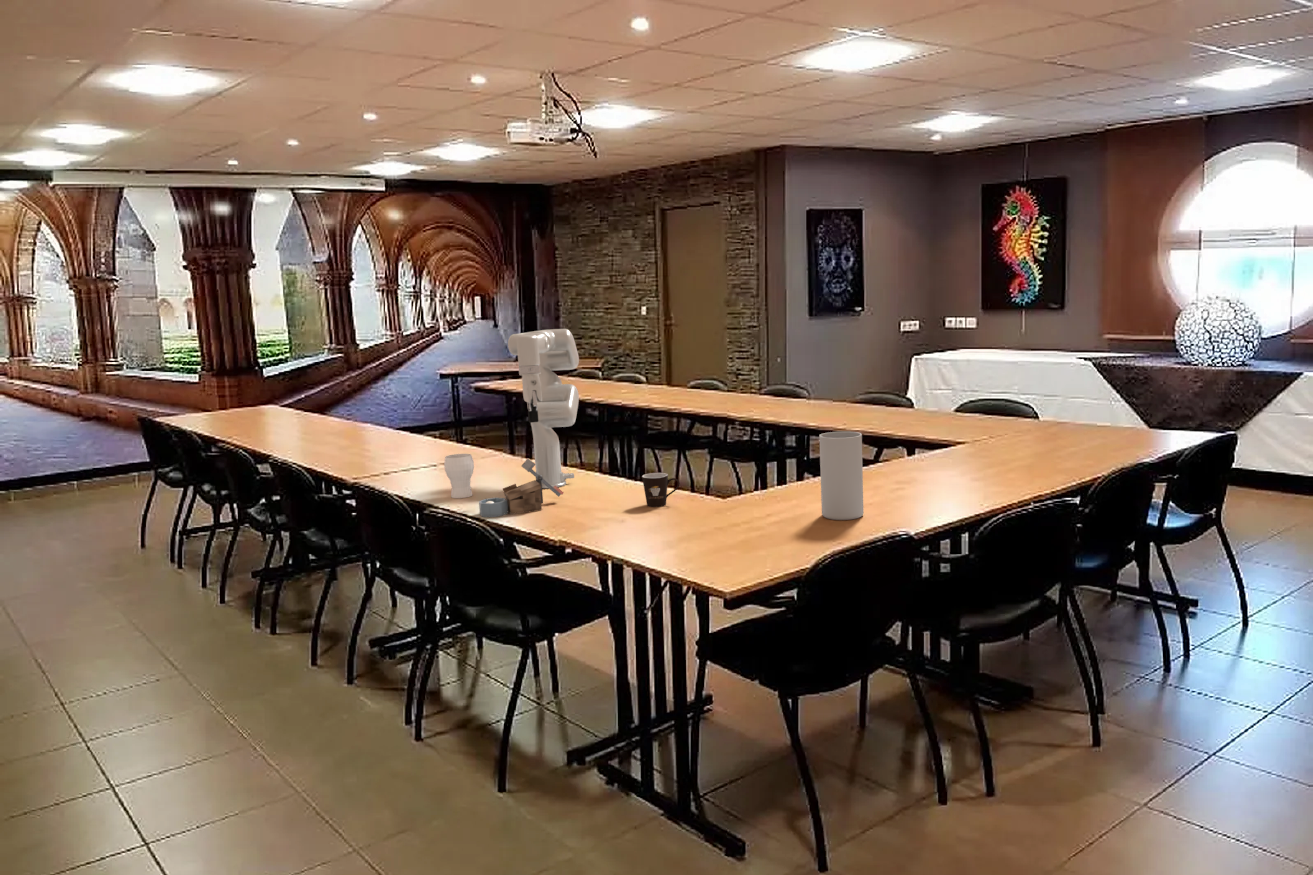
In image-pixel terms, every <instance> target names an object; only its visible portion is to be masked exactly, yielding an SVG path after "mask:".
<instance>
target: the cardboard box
mask: <svg viewBox="0 0 1313 875" xmlns="http://www.w3.org/2000/svg"><path fill="white" fill-rule="evenodd" d="M502 491H503V493H504V496H505V499H506V500H507V505H508V514H510V515H515V514H522V513H530V512H529V511H531V512H535V511H534V510H538V511H541V510H540V509H542V510H543V508H542V504H544V498H543V497H544V494H543V488H542V482H541V481H538V480H537V479H536V478H535V479H534V480H532V481H529V482H526V483H524V484H521V485H518V486H517V484H516V483H514V484H510V485H508V486H506V487H504V488H502ZM514 513H515V514H514Z"/></svg>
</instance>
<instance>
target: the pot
mask: <svg viewBox="0 0 1313 875" xmlns="http://www.w3.org/2000/svg"><path fill="white" fill-rule="evenodd" d="M488 501H493V502H494V503H486V502H488ZM478 509H479V515H480V516H481V517H482V518H493V517H494V518H495V517H502V516H504V515H507V514H509V512H508V505H507V500H506V497H490V498H485V499H482V500H479V501H478Z"/></svg>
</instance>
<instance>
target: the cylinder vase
mask: <svg viewBox="0 0 1313 875" xmlns="http://www.w3.org/2000/svg"><path fill="white" fill-rule="evenodd" d="M818 438H819V465H820V490H821V491H820V494H821V495H820V496H821V497H820V498H821V499H820V501H821V516H823V517H824V518H825V519H829V520H833V521H849V520H850V521H851V520H856V519H860V518H861V517H863V516H864V480H863V478H864V476H863V435H862V433H861V432H856V431H832V432H831V431H830V432H829V431H828V432H825V433H821V434H819V437H818Z"/></svg>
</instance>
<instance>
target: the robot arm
mask: <svg viewBox="0 0 1313 875" xmlns="http://www.w3.org/2000/svg"><path fill="white" fill-rule="evenodd" d="M507 347H508V350H509V352H510V354H511V355H513V356H517V360H518V361H517V362H518V374H519V375H518V376H521V378H522V381H521V382H522V396H523V400H524V402H526V404H527V410H528V411H527V415H528V416H527V418H528V422H529V423H530V426H531V431H532V438H533V440H532V441H533V452H534V463H535V464H536V465H535V466H534V467H535V472H536V473H537V474H538V475H541V476H542V477H543V479H544V480H545V481H546V482H548V483H549V484H550V485H551V486H552V487H554V486H557V487H558V488H560V487H564V486H566V485H567V481H566V480H567V479H570V480H571V479H574V478H575V473H574V472H572V473H569V472H567V473H564V472H563V471H562V465H561V448H560V440H559V435H558V434H557V433H556V432H555V431H554V429H553V428H562V427H563V428H566V427H572V426H573V425H575V423H576V419H577V414H578V409H579V402H580V401H579V400H580V398H579V391H578V389H577V387H576V385H574V384H572V383H564V384H563V382H562V379H561V377H559V375H557V373H555V372H554V371H570V370H575V369H576V368H578V366H579V364H580V363H579V362H580V357H579V352H578V349H577V344H576V342H575V338H574V336H573V334H572V332H571V331H570V330H569V329H567V328H553V329H542V330H534V331H527V332H521V333H513V334H511V335H510V336H509V338H508V341H507ZM542 489H549V488H548V487H547V486H546V485H544V484H543V483H542Z"/></svg>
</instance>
